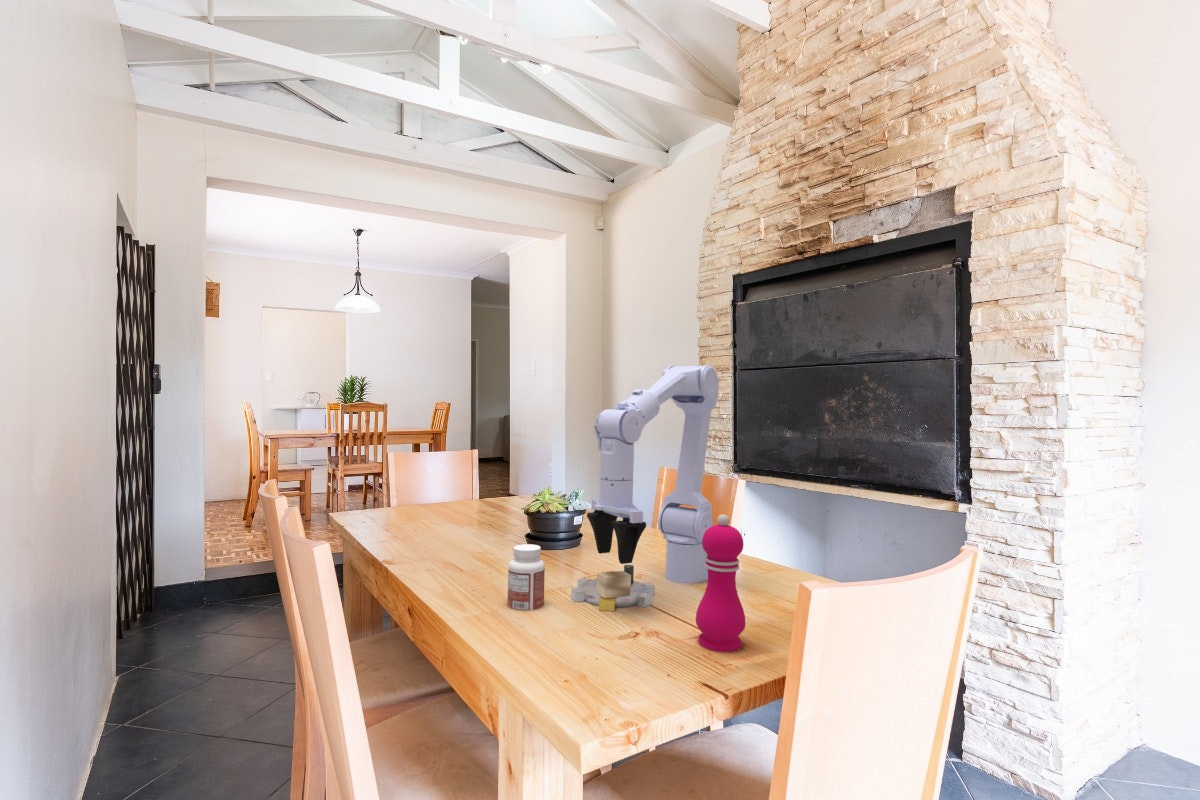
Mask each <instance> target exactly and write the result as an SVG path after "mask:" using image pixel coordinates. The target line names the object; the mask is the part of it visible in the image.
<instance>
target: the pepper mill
mask: <svg viewBox="0 0 1200 800" xmlns="http://www.w3.org/2000/svg"><path fill="white" fill-rule="evenodd" d="M716 522H717V524H715V525H714V524H713V526H711V527H710V528H708V529H707V530H706V531H705V533H704V535H703V538H702V546H703V549H704V551H705V552H706V553H707V556H706V557H705V561H706V563H705V567H706V568H708V581H706V582H707V583H706V588H705V591H704V593H703V596H702V598H701V600H700V602H699V603H698V606H697V609H696V614H695V623H696V626H697V628H698V630H700V632H701V633H700V634H699V635H698V639H697V640H698V644H699V645H700V646H701V647H702V648H704V649H707V650H710V651H714V652H719V653H727V652H728V653H732V652H736V651H738V650H740V649H741V648H742V639H741V638H740V635H741V634H742V633H743V632H744V630H745V628H746V615H745V610H744V608H743V605H742V602H741V600H740V598H739V594H738V590H737V584H736V581H737V580H736V576H737V571H738V570H739V569H740V566H739V563H740V559H738V557H739V555H740V554H741V553H742V552H743V550H744V538H743V536H742V533H741V532H740V531H739V530H738V529H737V528H735V527H734V526H731V525H729V524H730V518H729V516H728V515H726V514H723V513H722V514H719V515H718V516H717V519H716Z"/></svg>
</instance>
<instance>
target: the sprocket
mask: <svg viewBox="0 0 1200 800" xmlns="http://www.w3.org/2000/svg"><path fill="white" fill-rule="evenodd" d="M623 571H624V572H626V573H628V574H630V575H631V589H630V596H622V597H614V598H603V597H601V596H600V595H598V594H597V593H596V590H597V578H593V579H591V578H588V577H583V578H579V579H577V587H575V588H571V590H570V591H571V592H570V593H571V594H570V598H571V600H572V601H573V602H575V603H578V602H585V603H586V604H587V603H588V604H590V605H593V606H598V610H599V611H604V612H605V611H607V612H615V611H616V608H629V607H636V606H638V607H641V608H643V609H645V608H647V607H650V606H651V605H652V603H653V596H655V585H654V584H652V583H651V582H639V581H636V580H634V571H635V565H633V564H623Z"/></svg>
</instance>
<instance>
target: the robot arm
mask: <svg viewBox="0 0 1200 800" xmlns="http://www.w3.org/2000/svg"><path fill="white" fill-rule="evenodd" d="M717 373H718V372H717V371H716V370H715V368H714V366H713V365H711V364H705V365H669V366H667V368H665V369H663V370H662V374H661V377H660V378H659V379H658V380H657V381H656V382H655V383H653V384H652V386H651V387H649V388H648V389H642V388H638V389H637V388H636V389H634V390H633V391H632V392H631V395H629V396H628V397H627V398H626V399H624V400H623V401H620V402H618V403H617V406H615V407H614V408H612V409H611V408H610V409H609V408H608V409H604V410H602V411H601V412H600V413H599V414H598V415H597V418H596V420H595V424H593V430H594V431H593V432H594V434H595V438H596V439H597V449H598V451H599V452H600V465H599V467H600V469H599V471H600V472H599V497H596V498H595V497H593V498H591V510H593V512H587V513H586V517H587V519H588V521H589V524H590V526H591V529H592V532H593V535H594V539H595V544H596V545H595V546H596V549H597V553H598V554H607V553H608V554H610V553H611V549H612V543H613V537H614V535H613V534H615V536H616V542H617V556H618V557H617V558H618V562H619V564H621V565H627V564H632V563H633V560H634V556H635V552H636V549H637V547H638V543H639V541H640V538H641V536H642V534H643V532H644V530H645V529H646V528H647V522H646V521H643V520H644V510H642V509H639V508H638V507H637V506H636V505H634V504H633V502H634V500H633V496H634V495H633V494H634V463H635V462H634V460H635V459H634V457H635V442H638V441H639V440H640V437H641V436H642V431H643V430H644V428H645V426H646V425H647V424H648V423H650V422H651V421H652V420H653V419H654V418H655V417H656V416H658V415H659V413H660V409H661V405H662V404H664V403H665V402H667V401H668V400H669V399H670V400H672V402H673V403H674V404H675V406H676V407H678V408H680V409H681V410H682V411H683V413H684V423H683V430H682V436H681V437H682V438H681V444H680V453H679V458H678V465H677V472H676V473H677V475H676V481H675V482H676V483H675V489H674V490H673V491H672V492H670V493H669V494H667V495H665V497H664V498H663V503H662V506H661V509H660V510H659V511H660V512H659V513H658V517H657V526H658V529H659V532H660V533H661V534H662V535H663V539H664V540H666V548H665V551H666V552H665V555H666V556H665V580H667V581H669V582H671V583H676V584H681V585H683V584H685V585H687V584H688V585H692V584H698V583H702V582H707V581H708V568H706V567H705V563H706V561H705V557H706V556H707V553H706V552H705V551H704V549H703V546H702V538H703V535H704V533H705V531H706V530H707V529H708V528H710V527H711V526H714V521H713V520H714V519H713V505H712V503H711V502H710V501H709V500H708V499H707V498H706V497H705V496H704V495H703V494H702V487H703V486H702V485H703V479H704V471H705V465H706V463H705V462H706V457H707V448H708V439H709V432H710V425H711V424H710V423H711V417H712V410H713V409H716V406H717V400H718V395H719V393H718V392H719V385H720V380H719V379H720V378H719V375H718V374H717ZM685 506H690V507H685ZM692 507H693V508H692ZM618 518H621V519H622V520H617V519H618Z"/></svg>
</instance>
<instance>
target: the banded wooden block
mask: <svg viewBox="0 0 1200 800" xmlns="http://www.w3.org/2000/svg"><path fill="white" fill-rule="evenodd" d="M596 576H597V577H596V579H597V590H596V593H597V594H598V595H600V596H601V597H603V598H614V597H622V596H630V589H631V575H630V574H628V573H626V572H624V570H615V571H613V570H610V571H605V572H597V575H596Z"/></svg>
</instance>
